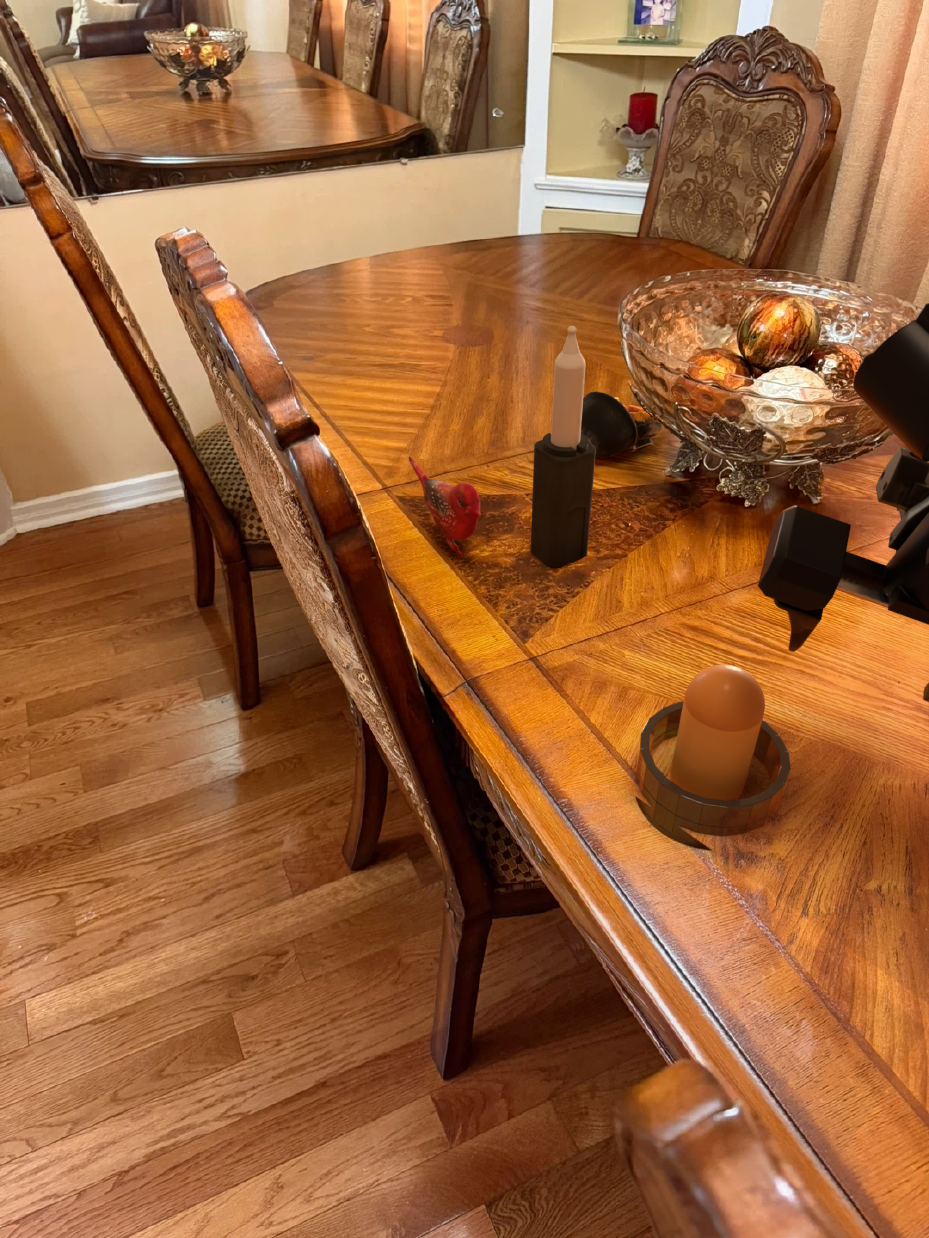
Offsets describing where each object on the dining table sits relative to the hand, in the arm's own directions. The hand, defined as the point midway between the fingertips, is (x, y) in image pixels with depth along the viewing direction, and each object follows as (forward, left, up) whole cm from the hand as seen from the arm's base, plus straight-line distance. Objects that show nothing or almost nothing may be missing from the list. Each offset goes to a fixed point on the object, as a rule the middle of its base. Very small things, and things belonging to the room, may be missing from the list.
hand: (858, 670), depth 60 cm
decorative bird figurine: (+48, -5, -14) cm, 51 cm away
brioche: (+7, +5, -14) cm, 16 cm away
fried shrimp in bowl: (+48, -37, -14) cm, 62 cm away
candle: (+38, -12, -14) cm, 42 cm away
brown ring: (+7, +5, -14) cm, 16 cm away
